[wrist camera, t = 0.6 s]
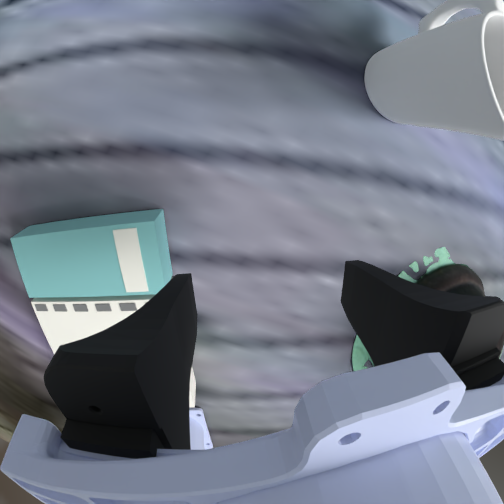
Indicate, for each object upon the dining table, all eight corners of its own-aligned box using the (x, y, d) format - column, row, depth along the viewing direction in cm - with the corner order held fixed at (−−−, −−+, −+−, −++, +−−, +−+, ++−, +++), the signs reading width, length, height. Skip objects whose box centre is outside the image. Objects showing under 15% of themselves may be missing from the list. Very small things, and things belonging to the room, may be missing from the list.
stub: (172, 273, 22) (166, 294, 19) (44, 280, 21) (28, 298, 18) (163, 208, 20) (154, 221, 17) (29, 225, 19) (9, 238, 16)
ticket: (195, 382, 27) (194, 408, 24) (89, 379, 26) (80, 401, 23) (173, 276, 22) (167, 299, 19) (47, 282, 21) (30, 302, 18)
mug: (423, 139, 19) (543, 166, 8) (353, 111, 18) (477, 110, 7) (436, 37, 16) (542, 17, 5) (370, 2, 15) (468, -55, 4)
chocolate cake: (476, 344, 31) (511, 383, 23) (360, 407, 32) (384, 463, 24) (491, 218, 23) (553, 252, 15) (337, 290, 24) (385, 364, 16)
